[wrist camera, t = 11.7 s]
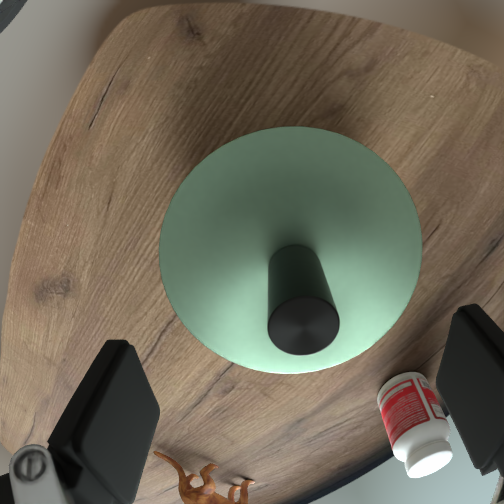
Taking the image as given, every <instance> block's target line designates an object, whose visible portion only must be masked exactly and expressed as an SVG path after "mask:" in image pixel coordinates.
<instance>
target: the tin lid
mask: <svg viewBox="0 0 504 504" xmlns="http://www.w3.org/2000/svg"><path fill="white" fill-rule="evenodd" d="M421 261H422V234H421V226H420V221H419V218H418V214H417V211H416V207H415V205H414V203H413V200H412V198H411V196H410V194H409V192H408V190H407V189H406V187H405V185H404V184H403V182H402V181H401V179H400V178H399V176H398V175H397V174H396V173H395V172H394V170H393V169H392V168H391V167H390V166H389V165H388V164H387V163H386V162H385V161H384V160H383V159H382V158H380V157H379V156H378V155H377V154H376V153H375V152H373V151H372V150H370V149H369V148H367V147H365V146H364V145H362V144H361V143H359V142H357V141H355V140H353V139H351V138H348V137H346V136H344V135H342V134H338V133H335V132H331V131H328V130H324V129H319V128H312V127H304V126H286V127H276V128H270V129H264V130H259V131H256V132H253V133H250V134H247V135H243V136H241V137H239V138H237V139H235V140H233V141H230V142H228V143H226V144H224V145H223V146H221V147H220V148H218V149H217V150H215V151H214V152H212V153H211V154H209V155H208V156H207V157H206V158H204V159H203V160H202V161H201V162H200V163H199V164H198V165H197V166H196V167H195V168H193V170H192V171H191V172H190V173H189V174H188V176H187V177H186V178H185V179H184V180H183V182H182V183H181V185H180V186H179V188H178V189H177V191H176V193H175V194H174V196H173V198H172V200H171V202H170V204H169V207H168V209H167V211H166V214H165V217H164V221H163V224H162V228H161V233H160V242H159V266H160V271H161V277H162V282H163V285H164V288H165V291H166V294H167V297H168V299H169V301H170V303H171V305H172V307H173V309H174V311H175V312H176V314H177V316H178V317H179V319H180V320H181V322H182V323H183V324H184V325H185V327H186V328H187V329H188V330H189V331H190V332H191V334H192V335H193V336H195V337H196V338H197V339H198V340H199V341H200V342H201V343H202V344H203V345H205V346H206V347H208V348H209V349H210V350H212V351H213V352H215V353H216V354H218V355H220V356H222V357H223V358H225V359H227V360H229V361H231V362H234V363H236V364H239V365H241V366H244V367H248V368H251V369H254V370H259V371H265V372H270V373H284V374H288V373H304V372H311V371H317V370H321V369H325V368H329V367H332V366H334V365H337V364H340V363H342V362H345V361H347V360H349V359H351V358H353V357H355V356H357V355H358V354H360V353H362V352H363V351H365V350H366V349H368V348H369V347H371V346H372V345H373V344H374V343H376V342H377V341H378V340H379V339H380V338H382V337H383V336H384V335H385V334H386V333H387V332H388V331H389V330H390V328H391V327H392V326H393V325H394V324H395V322H396V321H397V320H398V319H399V317H400V316H401V315H402V313H403V311H404V310H405V308H406V306H407V304H408V303H409V301H410V299H411V296H412V294H413V292H414V289H415V287H416V284H417V280H418V277H419V273H420V268H421Z"/></svg>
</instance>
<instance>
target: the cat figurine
mask: <svg viewBox="0 0 504 504" xmlns="http://www.w3.org/2000/svg"><path fill="white" fill-rule="evenodd" d="M154 454H155V455H156V456H158V457H160V458H162V459H164V460H165V461H167V462H169V463H170V464H171V465H172V466H173V467H174V468H175V469H176V470H177V471H178V474H179V493H180V496H181V499H182V501H183V502H184V504H248V492H247V487H248V485H249V484H250V483H255V481H253V480H245V481H243V482H242V484H241V486H233V487H231V488H230V489H229V493H228V499H227V498H225V497H223V496H221V495H219V494H217V493H216V492H215V489H216V486H215V483H214V481H213V479H212V478H211V477H210V475H209V473H210V472H211V471H212V470H213V469H214V468H219V467H218V466H217V465H215V464H211V463H210V464H208V465H207V466H205V467H204V468H203V469H202V470H201V471H200V475H201V476H202V479H203V481H204V485H203V486H200V487H197V488H193V487H192V486H191V485H190V482H191V481H192V480H193V478H194V479H198V478H199V477H198V476H197V475H195V474H190V475H189V476H187V477H186V475H185V473H184V470H183V468H182V467H181V466H180V465H179V464H178V463H177V462H176V461H175V460H173V459H172V458H170V457H168V456H166V455H164V454H162V453H160V452H157V451H154ZM237 489H240V499H239V501H238V502H235V501H234V492H235V491H236V490H237Z"/></svg>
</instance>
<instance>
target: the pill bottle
mask: <svg viewBox="0 0 504 504" xmlns="http://www.w3.org/2000/svg"><path fill="white" fill-rule="evenodd" d="M377 400H378V405H379V408H380V411H381V415H382V418H383V421H384V424H385V427H386V430H387V433H388V437H389V440H390V443H391V447H392V450H393V453H394V455H395V456H396V458H397V459H399V460H401V461H404V462H405V468H406V470H407V474H408V476H410V477H413V478H417V477H422V476H426V475H428V474H431V473H433V472H435V471H437V470H439V469H440V468H441V467H443V466H444V465H445V464H447V463H448V462H449V461H450V459H451V458H452V456H453V453H452V450H451V447H450V444H449V443H448V441H447V440H448V438H449V436H450V426H449V424H448V422H447V419H446V417H445V415H444V413H443V411H442V409H441V407H440V405H439V403H438V401H437V399H436V397H435V395H434V393H433V391H432V389H431V387H430V385H429V383H428V381H427V380H426V378H425V377H424V376H423V375H422V374H420V373H417V372H406V373H402V374H399V375H397V376H395V377H393V378H392V379H390V380H389V381H388V382H387V383H385V385H384V386H383V387H382V388H381V390H380V391H379V394H378V398H377Z"/></svg>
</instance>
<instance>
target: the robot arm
mask: <svg viewBox="0 0 504 504" xmlns="http://www.w3.org/2000/svg"><path fill="white" fill-rule="evenodd" d="M2 1H3V0H0V4H1V2H2ZM436 387H437V390H438V392H439V394H440V396H441V398H442V400H443V402H444V404H445V406H446V407H447V409H448V411H449V414H450V416H451V418H452V419H453V422H454V424H455V426H456V428H457V430H458V432H459V434H460V436H461V438H462V440H463V443H464V445H465V447H466V449H467V452H468V454H469V456H470V458H471V461H472V463H473V465H474V467H475V468H476V469H480V472H481V474H482V476H483V475H486V474H488V473H490V472H492V471H494V470H496V469H497V468H498V470H499V472H500V476H499V480H498V483H497V486H496V489H495V492H494V495H493V498H492V501H491V503H490V504H504V332H503V331H502V330H501V329H500V328H499V327H498V326H497V325H496V323H495V322H494V321H493V320H492V319H491V318H490V317H489V316H488V315H487V314H486V313H485V312H484V310H483V309H482V308H481V307H480V306H479V305H477V304H470V305H465V306H461V307H459V308H458V309H457V312H456V313H454V314H453V317H452V321H451V325H450V330H449V334H448V338H447V342H446V346H445V349H444V353H443V357H442V360H441V364H440V367H439V370H438V374H437V377H436ZM159 416H160V408H159V405H158V402H157V400H156V398H155V396H154V393H153V391H152V389H151V387H150V384H149V382H148V380H147V377H146V375H145V372H144V370H143V368H142V365H141V363H140V360H139V358H138V355H137V353H136V350H135V348H134V346H133V345H129V343H128V341H127V340H107V341H106V342H105V344H104V345H103V347H102V348H101V350H100V352H99V353H98V355H97V356H96V358H95V360H94V361H93V363H92V365H91V366H90V368H89V369H88V371H87V373H86V374H85V376H84V378H83V379H82V381H81V383H80V384H79V386H78V388H77V390H76V391H75V393H74V395H73V396H72V398H71V400H70V402H69V403H68V405H67V407H66V409H65V410H64V412H63V414H62V416H61V417H60V419H59V421H58V423H57V425H56V426H55V428H54V430H53V432H52V434H51V436H50V437H49V439H48V441H47V442H48V443H49V446H48V448H47V449H46V448H45V447H43V446H41V445H37V444H31V445H26V446H24V447H22V448H20V449H19V450H18V451H17V452H16V453H15V454H14V455H13V457H12V458H11V461H10V464H9V473H7V474H4V475H2V476H0V504H132V503H133V502H134V500H135V497H136V493H137V490H138V486H139V483H140V479H141V476H142V472H143V469H144V466H145V462H146V459H147V456H148V452H149V449H150V446H151V442H152V439H153V436H154V433H155V429H156V426H157V423H158V420H159Z"/></svg>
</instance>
